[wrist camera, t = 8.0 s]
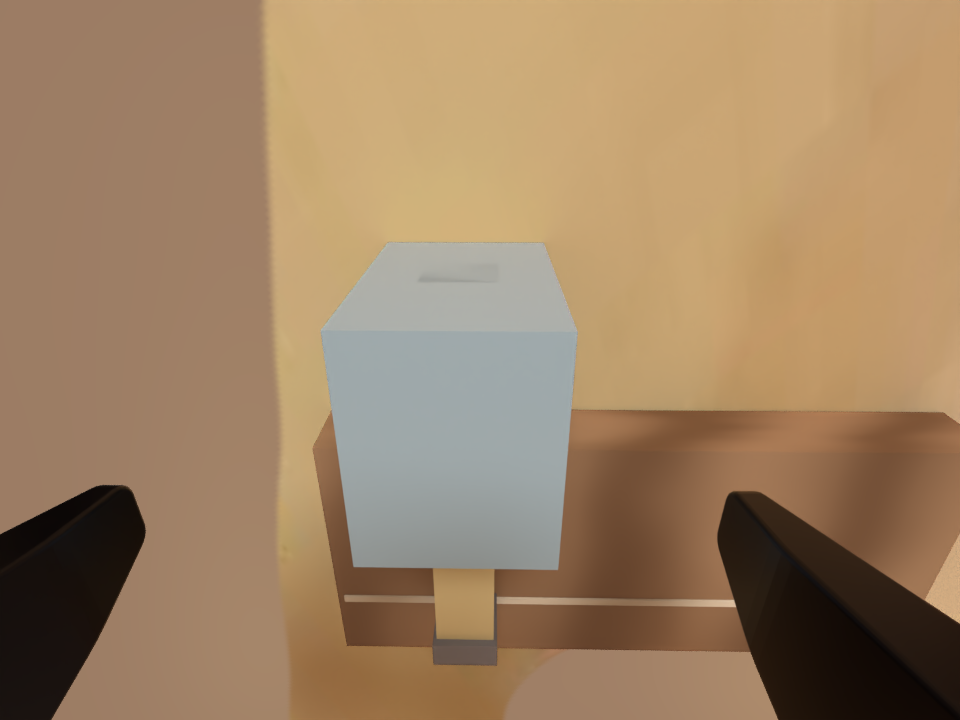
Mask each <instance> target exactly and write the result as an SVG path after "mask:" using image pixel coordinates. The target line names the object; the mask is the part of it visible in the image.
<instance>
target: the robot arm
mask: <svg viewBox="0 0 960 720" xmlns="http://www.w3.org/2000/svg"><path fill="white" fill-rule="evenodd" d="M145 531H146V530H145V524H144V521H143V518H142V516H141V513H140V510H139V507H138V505H137V502H136V499H135V497H134V494H133V492H132V490H131V489H130V488H129V487H127V486H123V485H100V486H96V487H94V488H91V489H89V490H87V491H85V492H83V493H81V494H80V495H77V496H75V497H74V498H71V499H70V500H67V501H65V502H64V503H62V504H59V505H58V506H56V507H53V508H52V509H50V510H48V511H46V512H44V513H42V514H40V515H38V516H36V517H34V518H32V519H30V520H28V521H26V522H24V523H22V524H20V525H18V526H16V527H14V528H12V529H10V530H8V531H6V532H4V533H2V534H0V720H51V719H52V718H53V716H54V714H55V712H56V711H57V709H58V707H59V706H60V704H61V702H62V700H63V699H64V697H65V695H66V693H67V692H68V690H69V689H70V687H71V685H72V683H73V682H74V680H75V678H76V677H77V674H78V673H79V671H80V670H81V668H82V666H83V665H84V663H85V661H86V659H87V658H88V656H89V654H90V652H91V650H92V649H93V647H94V645H95V643H96V641H97V640H98V638H99V635H100V634H101V632H102V630H103V628H104V626H105V624H106V622H107V620H108V617H109V615H110V613H111V611H112V609H113V607H114V605H115V602H116V600H117V598H118V596H119V594H120V592H121V589H122V587H123V585H124V583H125V581H126V579H127V577H128V575H129V572H130V570H131V568H132V566H133V564H134V562H135V559H136V557H137V555H138V553H139V551H140V549H141V547H142V544H143V542H144V538H145V533H146V532H145ZM717 543H718V548H719V552H720V555H721V559H722V562H723V565H724V569H725V572H726V575H727V579H728V582H729V585H730V589H731V592H732V595H733V598H734V602H735V605H736V608H737V612H738V615H739V618H740V622H741V625H742V628H743V632H744V635H745V638H746V641H747V644H748V647H749V650H750V652H751V655H752V657H753V660H754V662H755V665H756V667H757V670H758V672H759V674H760V677H761V679H762V682H763V684H764V687H765V689H766V691H767V694H768V696H769V699H770V701H771V703H772V705H773V708H774V710H775V713H776V715H777V718H778V720H960V624H959V623H958V622H956V621H955V620H953V619H952V618H950V617H949V616H947V615H946V614H944V613H943V612H941V611H940V610H938V609H937V608H935V607H934V606H932V605H931V604H929V603H928V602H926V601H925V600H923V599H922V598H920V597H919V596H917V595H916V594H914V593H913V592H911V591H910V590H908V589H906V588H905V587H903V586H902V585H900V584H899V583H897V582H896V581H894V580H893V579H891V578H890V577H888V576H887V575H885V574H884V573H882V572H881V571H879V570H878V569H876V568H875V567H873V566H872V565H870V564H869V563H867V562H866V561H864V560H863V559H861V558H860V557H858V556H857V555H855V554H854V553H852V552H851V551H849V550H848V549H846V548H844V547H843V546H841V545H840V544H838V543H837V542H835V541H834V540H832V539H831V538H829V537H828V536H826V535H825V534H823V533H822V532H820V531H819V530H817V529H816V528H814V527H813V526H811V525H810V524H808V523H807V522H805V521H804V520H802V519H801V518H799V517H798V516H796V515H795V514H793V513H792V512H790V511H789V510H787V509H786V508H784V507H782V506H781V505H779V504H778V503H776V502H775V501H773V500H772V499H770V498H769V497H767V496H766V495H764V494H763V493H761V492H758V491H732V492H730V493H729V494H728V496H727V498H726V501H725V505H724V508H723V512H722V516H721V520H720V524H719V528H718V532H717Z"/></svg>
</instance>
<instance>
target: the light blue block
mask: <svg viewBox="0 0 960 720" xmlns="http://www.w3.org/2000/svg"><path fill="white" fill-rule="evenodd" d="M577 334H578V332H577V329H576V326H575V324H574V321H573V318H572V316H571V313H570V311H569V308H568V305H567V303H566V300H565V298H564V295H563V292H562V290H561V287H560V284H559V282H558V279H557V277H556V274H555V271H554V269H553V266H552V263H551V261H550V258H549V256H548V253H547V250H546V248H545V245H544V243H403V242H388V243H387V244H386V246H385V247H384V248H383V249H382V251H381V252H380V253H379V255H378V256H377V257H376V259H375V260H374V261H373V263H372V264H371V265H370V267H369V268H368V269H367V270H366V272H365V273H364V274H363V276H362V277H361V278H360V280H359V281H358V282H357V284H356V285H355V286H354V287H353V289H352V290H351V291H350V293H349V294H348V295H347V297H346V298H345V299H344V301H343V302H342V303H341V304H340V306H339V307H338V308H337V310H336V311H335V312H334V314H333V315H332V316H331V318H330V319H329V320H328V321H327V323H326V324H325V325H324V327H323V328H322V329H321V336H322V344H323V351H324V358H325V365H326V372H327V380H328V387H329V394H330V401H331V408H332V416H333V423H334V430H335V437H336V444H337V452H338V459H339V466H340V473H341V480H342V488H343V495H344V502H345V509H346V516H347V524H348V531H349V538H350V545H351V552H352V560H353V567H384V568H433V579H434V598H435V616H436V618H435V627H434V636H433V645H432V646H433V663H434V664H435V665H493V666H497V593H494V569H528V570H558V565H559V553H560V541H561V529H562V516H563V504H564V492H565V480H566V468H567V455H568V443H569V431H570V419H571V407H572V394H573V382H574V370H575V358H576V346H577Z"/></svg>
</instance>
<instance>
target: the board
mask: <svg viewBox="0 0 960 720" xmlns="http://www.w3.org/2000/svg"><path fill="white" fill-rule="evenodd" d="M313 454H314V459H315V465H316V471H317V476H318V482H319V488H320V494H321V499H322V505H323V511H324V516H325V522H326V528H327V534H328V539H329V545H330V551H331V557H332V562H333V568H334V574H335V579H336V585H337V591H338V597H339V602H340V608H341V614H342V620H343V625H344V631H345V637H346V642H347V646H406V647H433V646H432V645H433V636H434V627H435V618H436V616H435V598H434V579H433V568H384V567H353V560H352V552H351V545H350V538H349V531H348V524H347V516H346V509H345V502H344V495H343V488H342V480H341V473H340V466H339V459H338V452H337V444H336V437H335V430H334V423H333V416H332V410H331V412H330V414H329V416H328V418H327V420H326V422H325V424H324V426H323V428H322V430H321V432H320V434H319V436H318V438H317V440H316V442H315V444H314V446H313ZM732 491H758V492H761V493H763V494H764V495H766V496H767V497H769V498H770V499H772V500H773V501H775V502H776V503H778V504H779V505H781V506H782V507H784V508H786V509H787V510H789V511H790V512H792V513H793V514H795V515H796V516H798V517H799V518H801V519H802V520H804V521H805V522H807V523H808V524H810V525H811V526H813V527H814V528H816V529H817V530H819V531H820V532H822V533H823V534H825V535H826V536H828V537H829V538H831V539H832V540H834V541H835V542H837V543H838V544H840V545H841V546H843V547H844V548H846V549H848V550H849V551H851V552H852V553H854V554H855V555H857V556H858V557H860V558H861V559H863V560H864V561H866V562H867V563H869V564H870V565H872V566H873V567H875V568H876V569H878V570H879V571H881V572H882V573H884V574H885V575H887V576H888V577H890V578H891V579H893V580H894V581H896V582H897V583H899V584H900V585H902V586H903V587H905V588H906V589H908V590H910V591H911V592H913V593H914V594H916V595H917V596H919V597H920V598H922V599H923V600H925V598H926V596H927V594H928V592H929V590H930V588H931V587H932V585H933V583H934V581H935V579H936V577H937V575H938V573H939V571H940V569H941V568H942V566H943V564H944V562H945V560H946V558H947V556H948V554H949V552H950V551H951V549H952V547H953V545H954V543H955V541H956V539H957V537H958V535H959V533H960V424H959V423H957V422H956V421H955V420H953V419H952V418H950V417H949V416H947V415H946V414H945V413H928V412H780V411H633V410H571V419H570V431H569V443H568V455H567V468H566V480H565V492H564V504H563V516H562V529H561V541H560V553H559V565H558V570H528V569H494V593H497V648H536V649H601V650H602V649H603V650H604V649H605V650H666V651H667V650H668V651H731V652H732V651H734V652H738V651H739V652H750V650H749V647H748V644H747V641H746V638H745V635H744V632H743V628H742V625H741V622H740V618H739V615H738V612H737V608H736V605H735V602H734V598H733V595H732V592H731V589H730V585H729V582H728V579H727V575H726V572H725V569H724V565H723V562H722V559H721V555H720V552H719V548H718V543H717V532H718V528H719V524H720V520H721V516H722V512H723V508H724V505H725V501H726V498H727V496H728V494H729V493H730V492H732Z"/></svg>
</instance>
